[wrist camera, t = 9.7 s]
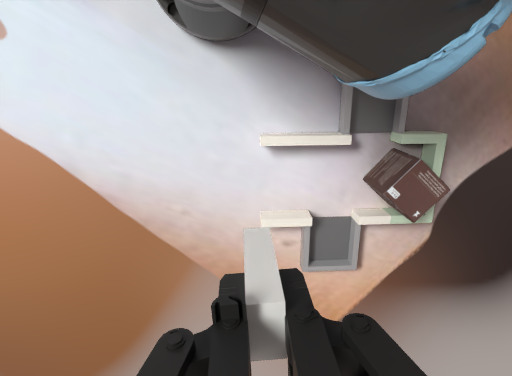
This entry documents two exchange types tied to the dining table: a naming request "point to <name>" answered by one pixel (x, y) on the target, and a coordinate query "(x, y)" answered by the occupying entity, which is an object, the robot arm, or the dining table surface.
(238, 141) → the dining table surface
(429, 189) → the box
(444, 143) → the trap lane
